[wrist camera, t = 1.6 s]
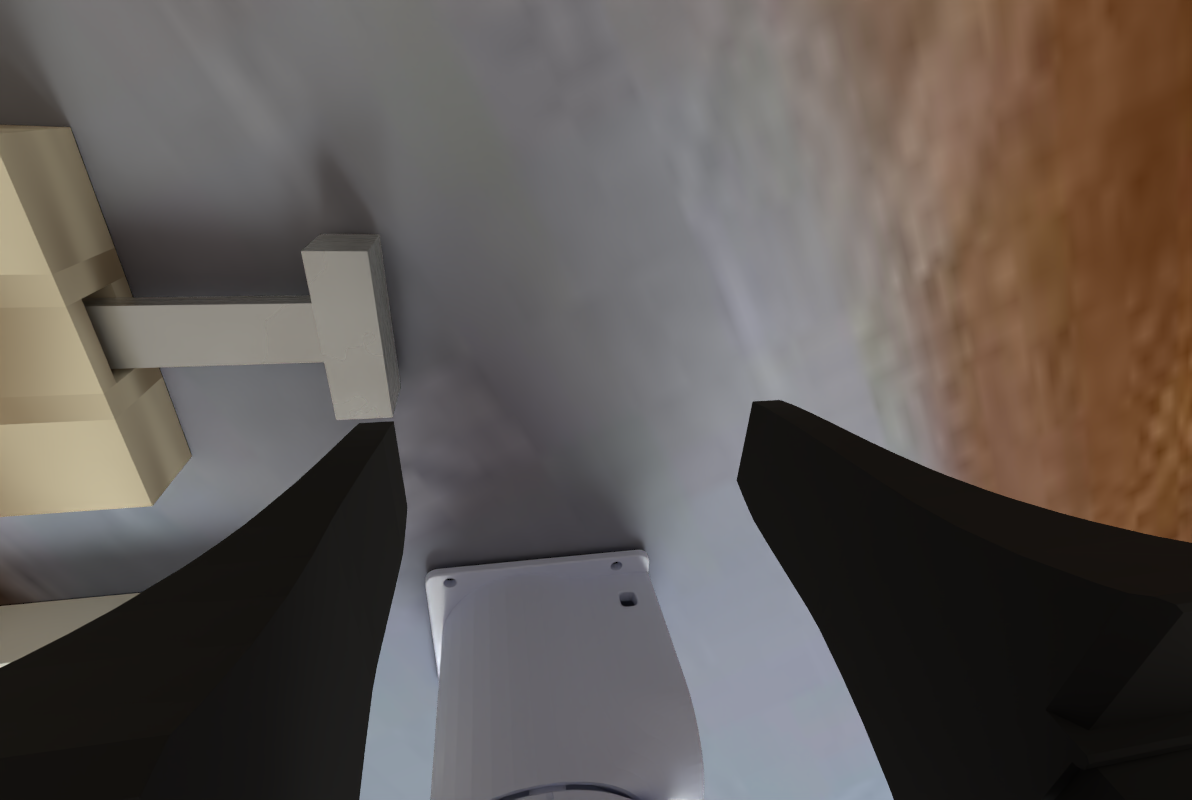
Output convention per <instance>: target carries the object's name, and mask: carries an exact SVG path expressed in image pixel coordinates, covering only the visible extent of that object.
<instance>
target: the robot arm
mask: <svg viewBox="0 0 1192 800" xmlns="http://www.w3.org/2000/svg"><path fill="white" fill-rule="evenodd" d="M737 482H738V485H739V487H740V490H741V492H742V495H743V497H744V500H745V502H746V504H747V506H748V509H749V511H750V513H751V515H752V518H753V520H754V522H755V523H756V525H757V527H758V528H759V530H760V532H761V533H762V535H763V537H764V538H765V540H766V542H767V543H768V545H769V547H770V548H771V550H772V552H773V553H774V555H775V556H776V558H777V560H778V561H779V563H780V564H781V566H782V568H783V569H784V571H785V572H786V574H787V576H788V577H789V579H790V580H791V582H792V584H793V585H794V587H795V589H796V590H797V592H798V593H799V595H800V597H801V598H802V600H803V601H804V603H805V605H806V606H807V608H808V610H809V611H810V613H811V615H812V617H813V619H814V620H815V622H816V624H817V626H818V627H819V629H820V631H821V633H822V635H823V637H824V640H825V642H826V644H827V646H828V648H829V650H830V652H831V654H832V656H833V658H834V660H835V662H836V664H837V666H838V669H839V671H840V673H841V675H842V677H843V679H844V681H845V684H846V686H847V688H848V690H849V693H850V695H851V697H852V699H853V702H854V704H855V706H856V708H857V711H858V713H859V715H860V717H861V719H862V722H863V724H864V726H865V729H866V731H867V734H868V736H869V739H870V741H871V743H872V746H873V748H874V751H875V753H876V756H877V758H878V761H879V763H880V765H881V768H882V770H883V773H884V775H885V778H886V780H887V783H888V785H889V788H890V790H891V793H892V796H893V798H894V800H1192V543H1189V542H1184V541H1178V540H1173V539H1168V538H1162V537H1157V536H1152V535H1148V534H1143V533H1139V532H1135V531H1130V530H1126V529H1122V528H1118V527H1113V526H1109V525H1105V524H1101V523H1096V522H1092V521H1088V520H1085V519H1081V518H1077V517H1073V516H1069V515H1066V514H1062V513H1058V512H1055V511H1052V510H1048V509H1045V508H1041V507H1038V506H1035V505H1031V504H1028V503H1025V502H1021V501H1018V500H1015V499H1011V498H1008V497H1005V496H1002V495H999V494H996V493H993V492H990V491H987V490H985V489H982V488H979V487H976V486H974V485H971V484H968V483H965V482H963V481H960V480H957V479H955V478H952V477H949V476H947V475H944V474H942V473H939V472H937V471H934V470H932V469H929V468H927V467H925V466H922V465H920V464H918V463H915V462H913V461H911V460H909V459H906V458H904V457H902V456H899V455H897V454H895V453H893V452H891V451H888V450H886V449H884V448H882V447H880V446H878V445H876V444H873V443H871V442H869V441H867V440H865V439H863V438H861V437H859V436H857V435H855V434H853V433H851V432H849V431H847V430H845V429H843V428H841V427H839V426H837V425H835V424H833V423H831V422H828V421H826V420H824V419H822V418H820V417H818V416H816V415H814V414H812V413H810V412H808V411H806V410H803V409H801V408H799V407H797V406H794V405H792V404H789V403H787V402H784V401H781V400H773V401H755V402H753V403H752V408H751V413H750V418H749V423H748V427H747V432H746V437H745V442H744V447H743V452H742V457H741V462H740V467H739V472H738V477H737ZM406 517H407V502H406V496H405V489H404V483H403V477H402V471H401V464H400V458H399V452H398V446H397V439H396V433H395V427H394V421H393V422H375V423H359V424H358V425H357V426H356V427H355V428H354V429H352V430H351V431H350V432H349V433H348V434H347V435H346V436H345V437H344V438H343V439H342V440H341V441H340V442H339V443H338V444H337V445H336V446H335V447H334V448H333V449H332V450H330V451H329V452H328V453H327V454H326V455H325V456H324V457H323V458H322V459H321V460H320V461H319V462H318V463H317V464H315V465H314V466H313V467H312V468H311V469H310V470H309V471H308V472H307V473H306V474H305V475H304V476H302V477H301V478H300V479H299V480H298V481H297V482H296V483H295V484H294V485H292V486H291V487H290V488H289V489H288V490H286V491H285V492H284V493H283V494H281V495H280V496H279V497H278V498H277V499H275V500H274V501H273V502H272V503H271V504H269V505H268V506H267V507H266V508H265V509H263V510H262V511H261V512H260V513H259V514H257V515H256V516H255V517H254V518H252V519H251V520H250V521H249V522H247V523H246V524H245V525H243V526H242V527H241V528H239V529H238V530H237V531H235V532H234V533H233V534H231V535H230V536H228V537H227V538H226V539H224V540H223V541H221V542H220V543H218V544H217V545H216V546H214V547H213V548H211V549H210V550H208V551H207V552H205V553H204V554H202V555H201V556H200V557H198V558H197V559H195V560H194V561H192V562H191V563H189V564H188V565H186V566H184V567H183V568H181V569H180V570H178V571H176V572H175V573H173V574H171V575H170V576H168V577H166V578H165V579H163V580H161V581H160V582H158V583H156V584H155V585H153V586H151V587H150V588H148V589H146V590H145V591H143V592H141V593H140V594H138V595H136V596H135V597H133V598H131V599H130V600H128V601H126V602H125V603H123V604H121V605H120V606H118V607H116V608H115V609H113V610H111V611H109V612H107V613H106V614H104V615H102V616H100V617H98V618H96V619H95V620H93V621H91V622H89V623H87V624H85V625H83V626H82V627H80V628H78V629H76V630H74V631H72V632H70V633H69V634H67V635H65V636H63V637H61V638H59V639H57V640H55V641H53V642H51V643H49V644H47V645H45V646H43V647H41V648H39V649H37V650H35V651H33V652H31V653H29V654H27V655H25V656H23V657H21V658H19V659H17V660H15V661H13V662H11V663H9V664H7V665H5V666H3V667H1V668H0V800H359V796H360V788H361V779H362V770H363V762H364V753H365V744H366V737H367V729H368V721H369V713H370V706H371V698H372V690H373V684H374V679H375V674H376V669H377V663H378V659H379V655H380V650H381V646H382V642H383V638H384V633H385V629H386V625H387V621H388V616H389V612H390V608H391V604H392V599H393V595H394V591H395V587H396V582H397V578H398V573H399V569H400V565H401V560H402V556H403V548H404V539H405V528H406ZM614 562H618V563H615V564H612V563H614ZM648 570H649V557H648V555H647V553H646V552H645V551H643V550H629V551H618V552H608V553H598V554H587V555H577V556H567V557H556V558H546V559H535V560H525V561H515V562H504V563H494V564H484V565H473V566H463V567H453V568H442V569H435V570H432V571H430V572H428V574H427V575H426V580H425V588H426V595H427V602H428V609H429V616H430V623H431V630H432V637H433V644H434V651H435V658H436V665H437V672H438V679H439V688H438V702H437V716H436V729H435V743H434V757H433V771H432V785H431V798H430V800H703V797H704V768H703V757H702V750H701V743H700V737H699V732H698V727H697V722H696V717H695V713H694V708H693V704H692V701H691V697H690V693H689V690H688V687H687V684H686V680H685V678H684V675H683V672H682V669H681V666H680V663H679V660H678V657H677V654H676V651H675V649H674V646H673V643H672V640H671V637H670V634H669V631H668V628H667V625H666V623H665V620H664V617H663V614H662V611H661V608H660V605H659V602H658V599H657V596H656V594H655V591H654V588H653V585H652V582H651V579H650V576H649V573H648ZM449 578H452V579H454V580H447V579H449Z"/></svg>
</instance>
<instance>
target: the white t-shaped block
mask: <svg viewBox="0 0 1192 800" xmlns="http://www.w3.org/2000/svg"><path fill="white" fill-rule="evenodd" d="M301 254H302V259H303V264H304V268H305V273H306V278H307V283H308V288H309V292H310V295H301V296H210V297H119V298H86V299H84V300H83V301H82V302H83V304H84V307H85V309H86V311H87V314H88V316H89V319H90V321H91V323H92V326H93V328H94V331H95V333H96V335H97V338H98V340H99V343H100V345H101V347H102V350H103V352H104V355H105V357H106V359H107V362H108V364H109V367H110V369H125V368H157V367H189V366H221V365H253V364H285V363H317V362H324V364H325V369H326V374H327V378H328V383H329V388H330V393H331V397H332V402H333V407H334V412H335V416H336V420H349V419H370V418H391V417H393V414H394V411H395V407H396V403H397V400H398V396H399V392H400V389H401V384H400V376H399V369H398V362H397V355H396V348H395V341H394V333H393V326H392V319H391V312H390V305H389V297H388V290H387V283H386V276H385V269H384V261H383V254H382V247H381V240H380V234H320V235H319V236H317V237H316V238H315V239H314V240H313V241H312V242H311V243H310V244H308V245H307V246H306V247H305V248H304V249H303V250H302V251H301Z"/></svg>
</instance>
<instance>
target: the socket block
mask: <svg viewBox="0 0 1192 800" xmlns="http://www.w3.org/2000/svg"><path fill="white" fill-rule="evenodd" d="M119 297H133V296H132V293H131V291H130V288H129V285H128V283H127V280H126V277H125V274H124V272H123V269H122V266H121V264H120V261H119V258H118V255H117V253H116V250H115V247H114V245H113V242H112V239H111V237H110V234H109V231H108V228H107V226H106V223H105V220H104V218H103V215H102V212H101V209H100V207H99V204H98V201H97V199H96V196H95V193H94V191H93V188H92V185H91V182H90V180H89V177H88V174H87V172H86V169H85V166H84V164H83V161H82V158H81V155H80V153H79V150H78V147H77V145H76V142H75V139H74V136H73V134H72V131H71V128H70V127H50V126H22V125H0V517H5V516H19V515H33V514H47V513H62V512H76V511H90V510H104V509H118V508H132V507H147V506H153V505H154V503H155V502H156V501H157V500H158V498H159V497H160V496H161V495H162V493H163V492H164V491H165V490H166V488H167V487H168V486H169V485H170V483H171V482H172V481H173V479H174V478H175V477H176V476H177V474H178V473H179V472H180V471H181V469H182V468H183V467H184V466H185V464H186V463H187V462H188V461H189V459H190V458H191V457H192V456H191V453H190V450H189V447H188V445H187V442H186V439H185V437H184V434H183V431H182V429H181V426H180V423H179V420H178V418H177V415H176V412H175V410H174V407H173V404H172V402H171V399H170V396H169V393H168V391H167V388H166V385H165V383H164V380H163V377H162V374H161V372H160V369H159V367H157V368H125V369H110V367H109V364H108V362H107V359H106V357H105V355H104V352H103V350H102V347H101V345H100V343H99V340H98V338H97V335H96V333H95V331H94V328H93V326H92V323H91V321H90V319H89V316H88V314H87V311H86V309H85V307H84V304H83V302H82V301H83V300H84V299H86V298H119Z"/></svg>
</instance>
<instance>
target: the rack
mask: <svg viewBox="0 0 1192 800" xmlns="http://www.w3.org/2000/svg"><path fill="white" fill-rule="evenodd" d="M138 594H140V593H133V594H122V595H112V596H101V597H91V598H80V599H70V600H59V601H49V602H38V603H28V604H17V605H7V606H0V668H1V667H3V666H5V665H7V664H9V663H11V662H13V661H15V660H17V659H19V658H21V657H23V656H25V655H27V654H29V653H31V652H33V651H35V650H37V649H39V648H41V647H43V646H45V645H47V644H49V643H51V642H53V641H55V640H57V639H59V638H61V637H63V636H65V635H67V634H69V633H70V632H72V631H74V630H76V629H78V628H80V627H82V626H83V625H85V624H87V623H89V622H91V621H93V620H95V619H96V618H98V617H100V616H102V615H104V614H106V613H107V612H109V611H111V610H113V609H115V608H116V607H118V606H120V605H121V604H123V603H125V602H126V601H128V600H130V599H131V598H133V597H135V596H136V595H138Z"/></svg>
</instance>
